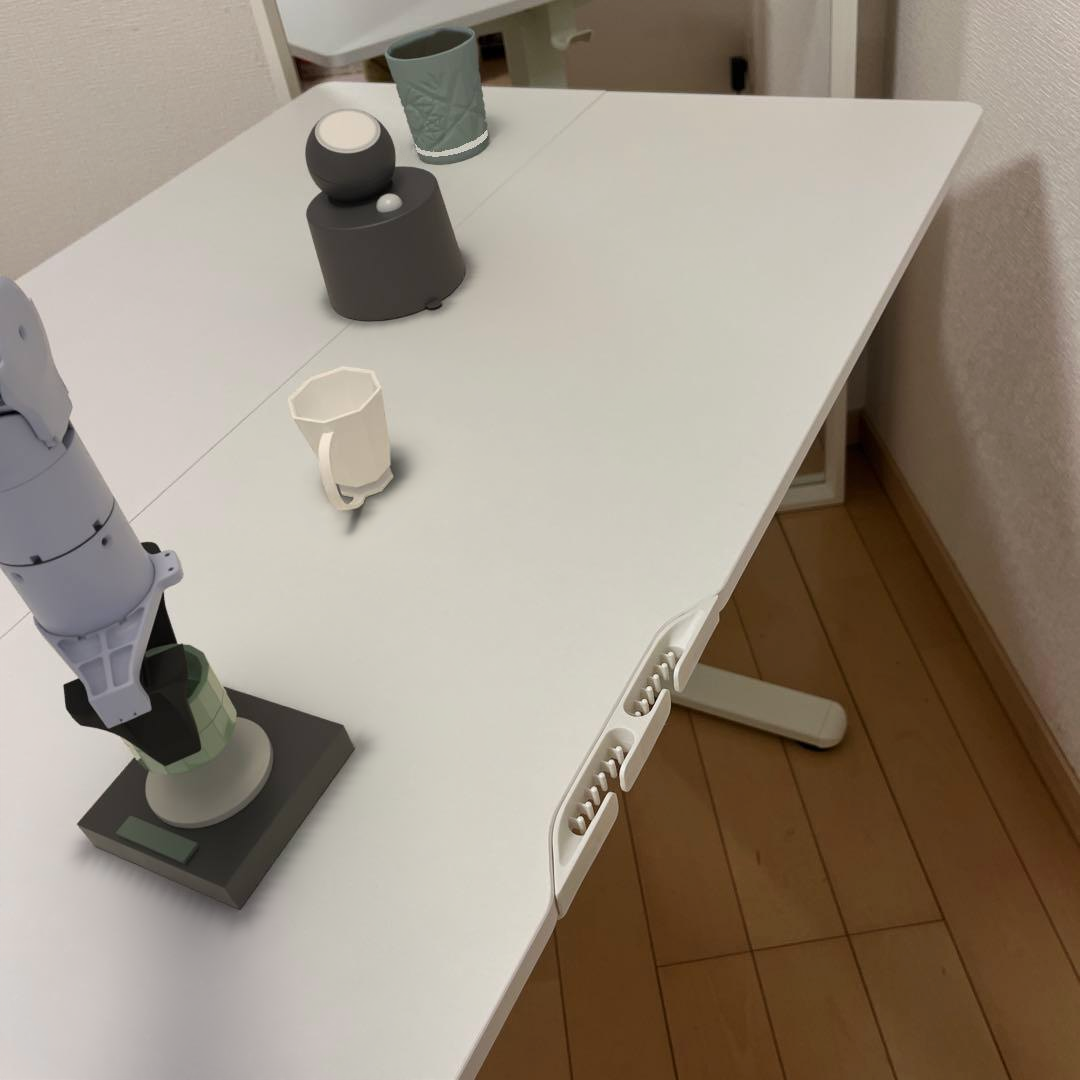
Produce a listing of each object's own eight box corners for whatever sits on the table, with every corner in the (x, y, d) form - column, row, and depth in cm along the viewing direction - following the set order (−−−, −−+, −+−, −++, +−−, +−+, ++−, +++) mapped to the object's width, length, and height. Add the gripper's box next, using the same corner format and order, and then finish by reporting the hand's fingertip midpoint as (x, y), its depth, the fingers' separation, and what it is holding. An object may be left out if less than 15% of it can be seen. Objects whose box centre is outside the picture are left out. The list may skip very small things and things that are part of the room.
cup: (417, 446, 86) (389, 359, 80) (396, 533, 78) (364, 443, 73) (331, 456, 87) (297, 370, 82) (302, 542, 80) (264, 454, 74)
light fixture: (321, 170, 88) (249, 133, 98) (376, 340, 99) (306, 291, 108) (457, 109, 93) (376, 78, 103) (497, 277, 103) (419, 235, 113)
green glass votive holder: (182, 797, 57) (145, 744, 54) (119, 753, 60) (81, 701, 57) (260, 721, 60) (230, 666, 57) (196, 683, 63) (164, 630, 60)
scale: (239, 910, 58) (220, 881, 56) (93, 845, 63) (70, 817, 61) (355, 748, 64) (340, 718, 63) (214, 701, 69) (197, 672, 68)
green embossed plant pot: (407, 172, 126) (377, 65, 118) (417, 136, 133) (391, 34, 125) (493, 158, 124) (470, 49, 116) (499, 123, 132) (478, 18, 124)
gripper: (159, 583, 45) (273, 779, 54) (121, 413, 56) (221, 600, 65) (-13, 653, 44) (132, 842, 53) (-18, 465, 54) (103, 649, 63)
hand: (173, 712), depth 59 cm, fingers closed on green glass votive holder, 6 cm apart
